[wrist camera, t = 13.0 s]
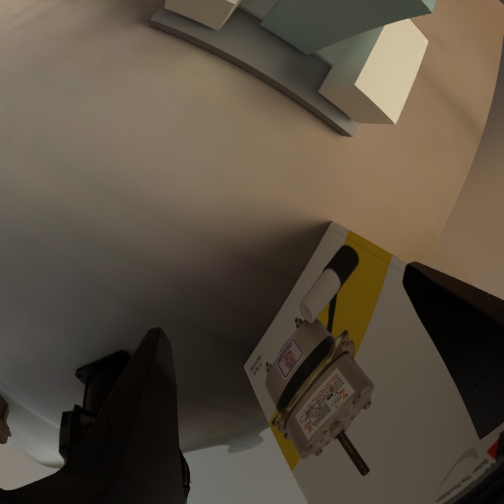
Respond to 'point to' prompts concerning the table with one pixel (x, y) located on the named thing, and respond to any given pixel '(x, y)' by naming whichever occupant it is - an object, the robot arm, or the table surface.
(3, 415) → the industrial component
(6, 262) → the table surface
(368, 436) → the packaging box
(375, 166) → the table surface
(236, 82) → the table surface
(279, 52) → the rail board
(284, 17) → the panel
